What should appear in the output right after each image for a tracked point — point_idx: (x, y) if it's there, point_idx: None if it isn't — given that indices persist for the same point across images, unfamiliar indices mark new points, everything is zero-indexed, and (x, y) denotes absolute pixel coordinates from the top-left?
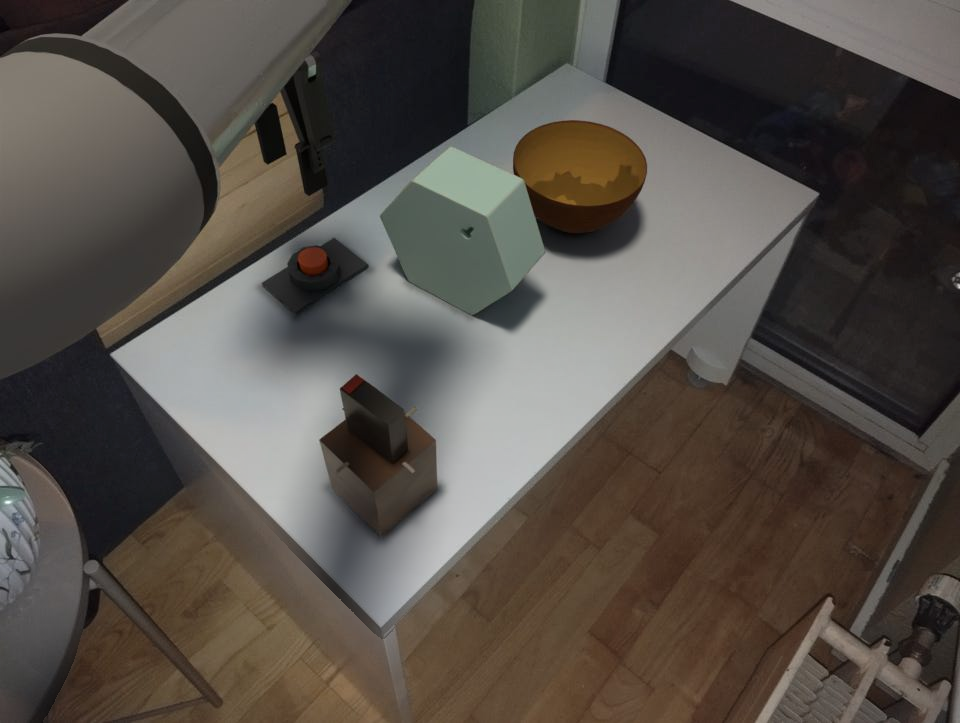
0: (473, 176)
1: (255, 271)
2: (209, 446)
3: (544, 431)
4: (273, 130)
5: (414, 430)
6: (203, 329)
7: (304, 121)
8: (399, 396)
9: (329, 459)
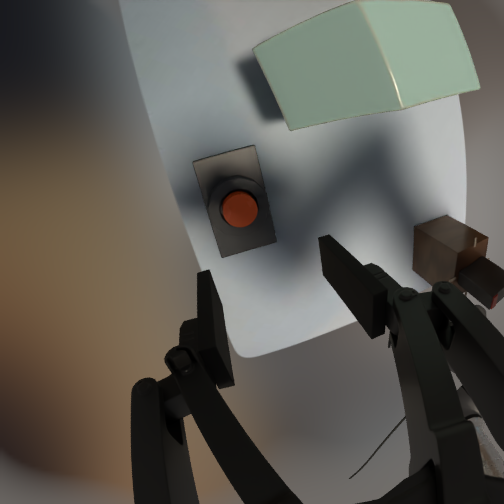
0: (430, 36)
1: (197, 255)
2: (344, 325)
3: (456, 133)
4: (218, 323)
5: (480, 246)
6: (246, 312)
7: (455, 370)
8: (394, 199)
9: None
